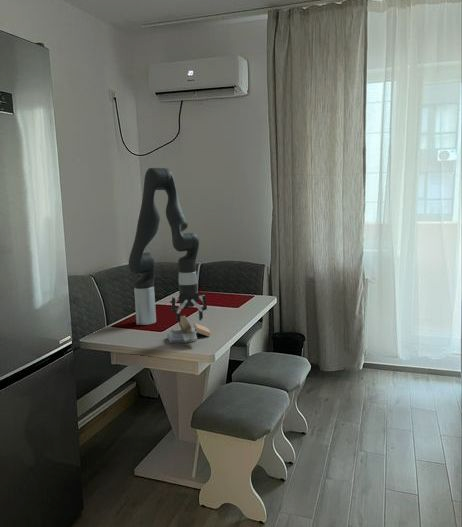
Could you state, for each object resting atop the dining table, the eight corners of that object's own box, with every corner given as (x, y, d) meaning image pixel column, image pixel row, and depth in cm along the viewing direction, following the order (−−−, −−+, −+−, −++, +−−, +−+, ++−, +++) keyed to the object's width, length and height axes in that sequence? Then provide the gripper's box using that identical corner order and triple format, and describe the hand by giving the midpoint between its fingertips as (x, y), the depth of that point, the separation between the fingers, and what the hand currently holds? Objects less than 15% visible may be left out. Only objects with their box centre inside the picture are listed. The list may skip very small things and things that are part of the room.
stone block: (199, 345, 186) (194, 334, 195) (198, 335, 184) (194, 324, 193) (170, 350, 183) (167, 338, 192) (169, 339, 181) (166, 328, 190)
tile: (193, 326, 196) (196, 332, 189) (194, 323, 196) (198, 328, 189) (205, 331, 198) (209, 336, 190) (207, 327, 198) (210, 332, 190)
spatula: (185, 342, 177) (184, 334, 176) (176, 324, 193) (175, 317, 192) (197, 340, 178) (196, 332, 177) (188, 322, 195) (187, 314, 194)
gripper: (170, 285, 180) (173, 325, 182) (206, 282, 182) (208, 322, 185) (169, 281, 187) (172, 320, 189) (204, 279, 189) (205, 317, 192)
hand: (189, 321), depth 187 cm, fingers open, 8 cm apart
